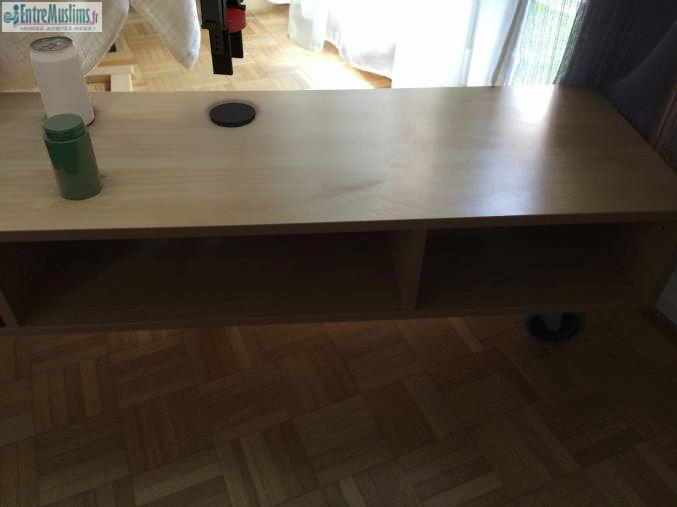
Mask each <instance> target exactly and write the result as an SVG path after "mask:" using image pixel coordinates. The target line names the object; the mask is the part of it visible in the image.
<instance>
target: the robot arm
mask: <svg viewBox="0 0 677 507" xmlns="http://www.w3.org/2000/svg"><path fill="white" fill-rule="evenodd" d="M243 3H244V0H199V7H200V18H201V24H200V27H201V29H202V30H207V29H208V30H207V31H208V37H209V46H210V47H209V48H210V56H211V65H212V66H211V67H212V74H213V75H218V76H233V75H234V66H233V59H242V60H243V59H244V57H245V56H244V54H245V53H244V42H243V29H242V30H240V31H237V32H231V33H230V31H229V28H227V24H226V8H236V9H240V10H243V11H244V12H245V13H246V11H247V5H246V4H243Z"/></svg>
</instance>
